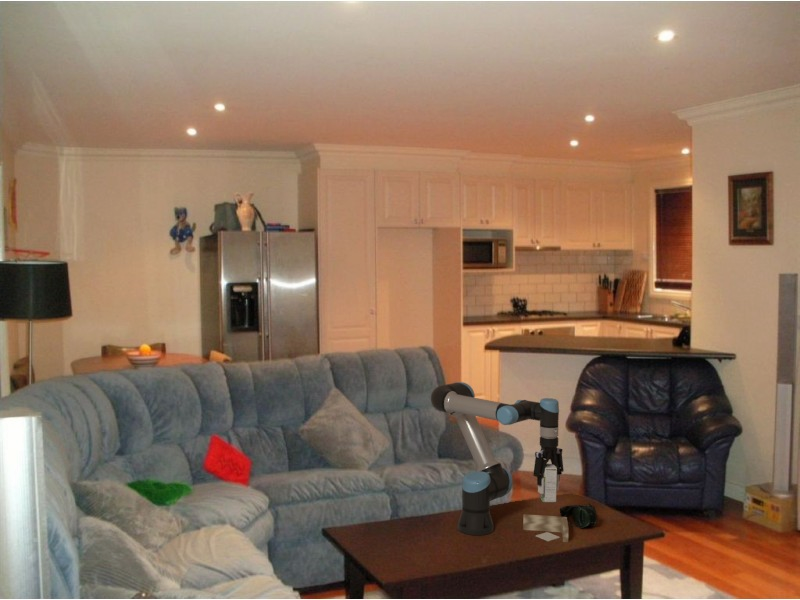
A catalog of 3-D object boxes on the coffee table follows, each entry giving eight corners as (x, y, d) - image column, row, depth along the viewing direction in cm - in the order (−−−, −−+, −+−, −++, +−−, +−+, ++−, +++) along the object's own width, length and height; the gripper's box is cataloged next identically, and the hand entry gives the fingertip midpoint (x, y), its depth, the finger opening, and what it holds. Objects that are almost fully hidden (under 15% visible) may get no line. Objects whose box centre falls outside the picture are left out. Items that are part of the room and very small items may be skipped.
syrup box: (539, 497, 310) (540, 463, 309) (554, 498, 310) (554, 463, 309) (542, 502, 304) (542, 467, 304) (556, 502, 304) (557, 467, 303)
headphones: (611, 513, 321) (580, 507, 339) (593, 494, 317) (562, 488, 335) (596, 539, 316) (566, 531, 333) (577, 520, 312) (547, 513, 330)
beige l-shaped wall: (523, 539, 305) (523, 524, 305) (523, 528, 318) (523, 514, 318) (568, 542, 302) (568, 527, 302) (566, 530, 315) (566, 517, 315)
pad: (548, 541, 303) (548, 540, 303) (535, 536, 309) (535, 535, 309) (559, 537, 307) (559, 537, 307) (547, 532, 313) (547, 531, 313)
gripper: (537, 441, 297) (537, 498, 298) (573, 435, 309) (572, 489, 310) (524, 438, 303) (523, 493, 304) (559, 431, 315) (559, 484, 316)
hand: (548, 491), depth 307 cm, fingers closed on syrup box, 8 cm apart
